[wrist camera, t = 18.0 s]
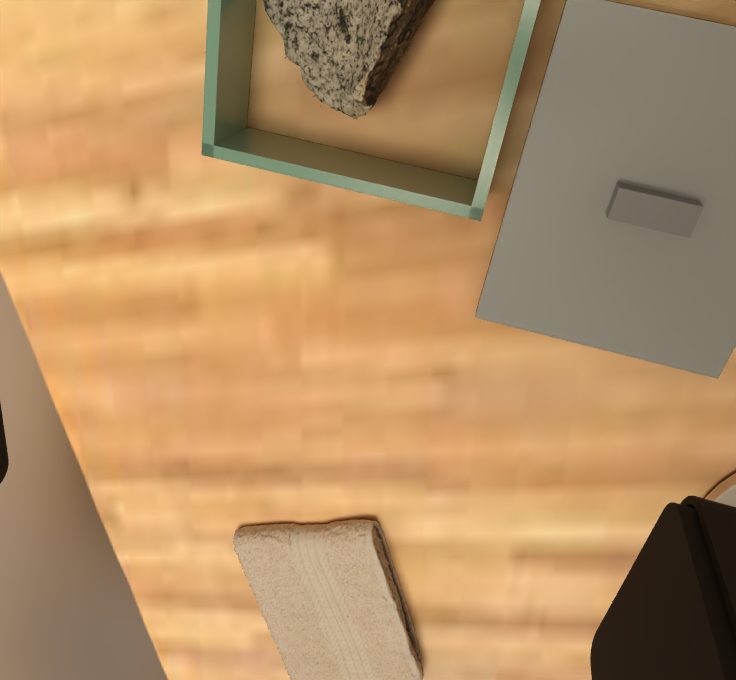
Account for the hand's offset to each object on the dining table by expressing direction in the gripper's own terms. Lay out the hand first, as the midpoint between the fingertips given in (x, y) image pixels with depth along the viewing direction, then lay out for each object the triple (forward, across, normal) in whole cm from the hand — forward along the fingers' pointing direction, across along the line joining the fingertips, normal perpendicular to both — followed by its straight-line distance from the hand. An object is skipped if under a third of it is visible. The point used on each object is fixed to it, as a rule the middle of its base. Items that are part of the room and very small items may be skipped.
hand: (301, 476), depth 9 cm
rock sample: (+29, +7, -3) cm, 30 cm away
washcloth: (+29, +1, +39) cm, 49 cm away
